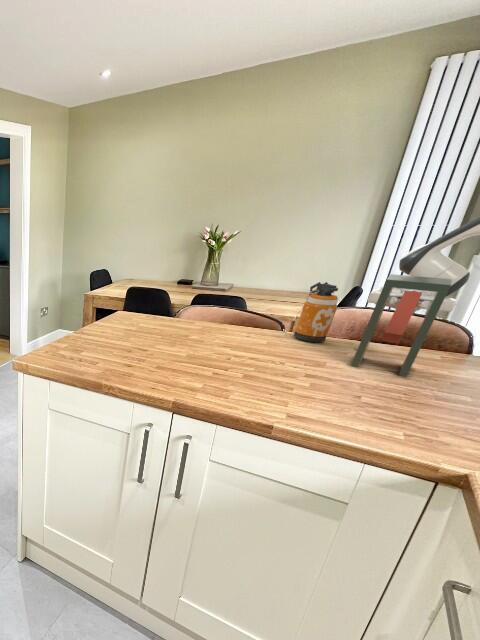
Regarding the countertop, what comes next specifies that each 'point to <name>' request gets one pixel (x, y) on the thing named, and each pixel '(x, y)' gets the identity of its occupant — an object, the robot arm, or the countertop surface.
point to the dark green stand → (427, 285)
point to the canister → (317, 313)
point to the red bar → (401, 317)
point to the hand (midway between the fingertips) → (407, 303)
